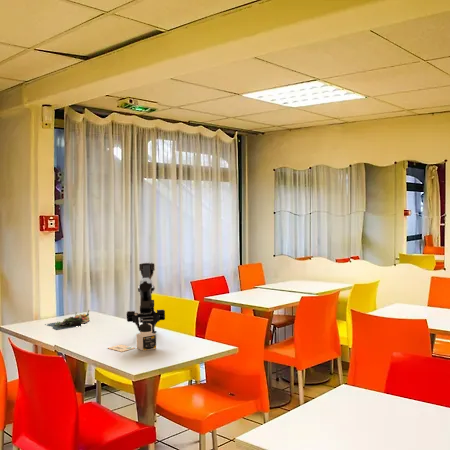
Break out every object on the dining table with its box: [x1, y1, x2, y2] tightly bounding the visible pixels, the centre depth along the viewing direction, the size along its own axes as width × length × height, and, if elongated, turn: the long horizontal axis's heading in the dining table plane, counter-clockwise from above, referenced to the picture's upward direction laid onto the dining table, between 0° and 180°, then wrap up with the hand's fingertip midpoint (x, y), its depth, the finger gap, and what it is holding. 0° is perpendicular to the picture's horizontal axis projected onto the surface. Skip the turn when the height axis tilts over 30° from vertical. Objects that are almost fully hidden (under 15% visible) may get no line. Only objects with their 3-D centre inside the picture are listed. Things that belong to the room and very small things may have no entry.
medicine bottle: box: [135, 323, 157, 352], centre depth 253 cm, size 7×7×12 cm
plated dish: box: [44, 309, 90, 331], centre depth 316 cm, size 35×28×7 cm
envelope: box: [107, 344, 136, 353], centre depth 255 cm, size 11×8×1 cm
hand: (145, 330), depth 252 cm, fingers closed on medicine bottle, 6 cm apart
